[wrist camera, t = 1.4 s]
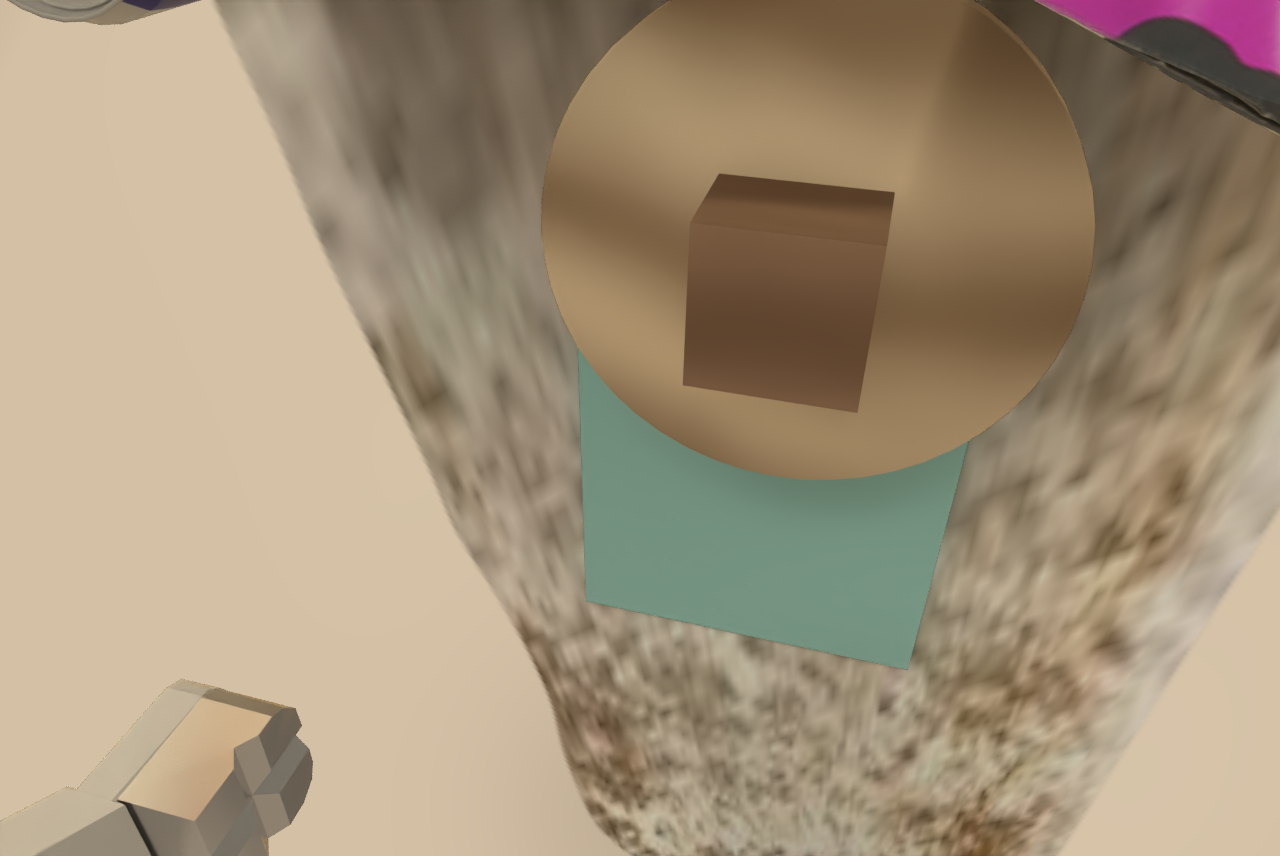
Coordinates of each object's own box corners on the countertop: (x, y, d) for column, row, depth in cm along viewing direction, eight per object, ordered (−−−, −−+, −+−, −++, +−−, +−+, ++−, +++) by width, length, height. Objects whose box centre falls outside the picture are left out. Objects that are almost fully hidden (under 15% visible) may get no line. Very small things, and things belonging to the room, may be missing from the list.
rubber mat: (582, 317, 33) (577, 325, 32) (983, 375, 30) (983, 385, 29) (590, 591, 41) (586, 601, 40) (908, 658, 38) (907, 669, 37)
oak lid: (545, -62, 21) (467, -30, 18) (1173, -27, 18) (1222, 18, 15) (566, 414, 28) (514, 499, 25) (1011, 491, 26) (1019, 597, 22)
